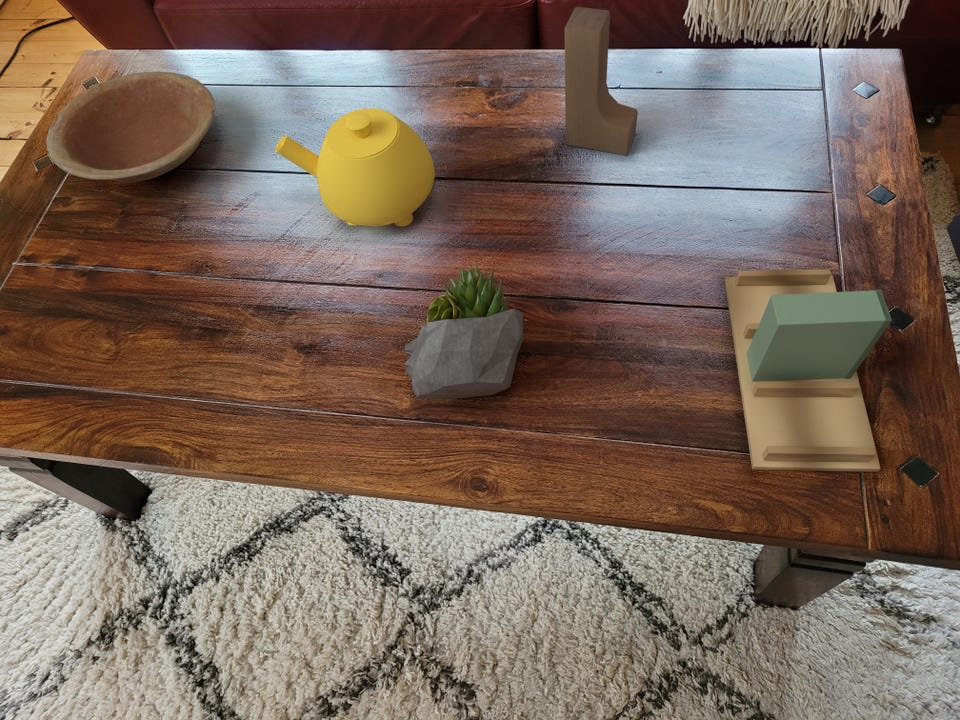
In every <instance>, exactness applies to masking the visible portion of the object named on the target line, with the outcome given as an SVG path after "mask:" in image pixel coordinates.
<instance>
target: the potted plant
mask: <svg viewBox="0 0 960 720" xmlns="http://www.w3.org/2000/svg"><path fill="white" fill-rule="evenodd" d="M460 267H461V269H460V270H459V272H458V274H457V277H456V280H457V281H456V280H455V279H454V277H453V275H451V276H449V277H448V278H449V282H450V287H449V286H448V285H447V283H446V281H445V280H443V285H444V291H445V293H446V294H441V295H439V296H437V297H435V298H434V300H433V301H432V302H431V303H430V305H429V308H428V309H427V313H426V314H427V318H426V324H422V326H421V328H420V331H419V333H418V335H417V336H416V337H415V338H413V340H411V341H410V342H409V343H407V344H406V345H405V347H404V350H403V352H404V353H405V354H406V355H409V358H408V359H407V360H406V361H405V362H404V364H403V365H404V366H405V367H406V369H405V370H404V371H405V373H406V374H407V376H408V377H410V378H411V386H412V387H411V388H412V389H411V390H412V392H413V394H414V395H415V397H416V398H417V399H424V400H425V399H426V400H433V401H437V400H439V401H440V400H442V401H443V400H458V399H465V398H466V399H467V398H476V397H483V396H493V395H496V394H498V393H500V392H502V391H504V390H507V389H509V388H511V385H512V380H513V376H514V372H515V367H516V363H517V359H518V354H519V351H520V349H521V347H522V344H523V338H524V337H523V335H524V333H523V332H524V313H523V312H522V311H520V310H518V309H516V308H511V309H508V303H509V298H510V297H509V295H507V297H506V299H505V295H504V292H505V289H504V286H502V277H499V278H500V279H499V284H497V287H496V275H494V272H495V271H494V268H492V270H491V273H490V274H488V267H487V266H485V273H484V274H483V271H482V270H480V268H479V264H478V263H476V265H475V267H473V265H472V264H469V268H468V271H467V270H466V269H465V268H464V267H463V265H460Z"/></svg>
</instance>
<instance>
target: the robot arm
mask: <svg viewBox="0 0 960 720" xmlns="http://www.w3.org/2000/svg"><path fill="white" fill-rule="evenodd" d="M946 231H947V234H948V236H949V239H950V242H951V245H952V248H953V250H954V253H955V256H956V258H957V261H958V264H959V265H960V210H959V211H958V212H957V213H956V214H955V215H954V217H953V218H952V220H951V221H950V223H949V224H948V226H947V227H946Z"/></svg>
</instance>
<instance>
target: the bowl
mask: <svg viewBox="0 0 960 720" xmlns="http://www.w3.org/2000/svg"><path fill="white" fill-rule="evenodd" d="M215 112H216V103H215V99H214V97H213V95H212V93H211V91H210V90H209V89H208V88H207V87H206V86H205V85H204V83H202V82H200V81H199V80H198V79H196V78H193V77H191V76H190V75H185V74H181V73H176V72H172V71H171V72H170V71H143V72H135V73H130V74H125V75H121V76H118V77H114V78H111V79H107V80H105V81H101V82H97V83H95V84H94V85H92V86H91V87H89V88H87V89H86V90H84V91H83V92H82V93H80V94H78V95H76V96H75V97H74V98H73V99H72V100H70V101H69V102H68V103H67V104H66V105H65V106H64V107H63V108H62V109H61V110H60V111H59V112H58V114H57V115H56V116H55V117H54V118H53V121H52V123H51V124H50V127H49V129H48V131H47V135H46V150H47V153H48V156H49V157H50V159H51V161H52V162H53V163H54V164H55V165H56V166H57V167H58V168H59V169H60V170H62V171H64V172H65V173H68V174H70V175H72V176H75V177H79V178H82V179H86V180H87V179H88V180H96V181H107V180H111V181H116V182H123V183H138V182H144V181H149V180H152V179H155V178H157V177H160V176H163V175H165V174H167V173H168V172H170V171H172V170H174V169H176V168H177V167H178V166H180V165H182V164H183V163H184V162H185V161H187V160H188V159H189V158H190V156H192V154H193V153H194V152H196V150H197V148H198V146H199V144H200V143H201V141H202V140H203V139H204V137H205V136H206V135H207V133H208V131H209V129H210V127H211V125H212V123H213V120H214V117H215Z"/></svg>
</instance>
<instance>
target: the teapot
mask: <svg viewBox="0 0 960 720" xmlns="http://www.w3.org/2000/svg"><path fill="white" fill-rule="evenodd" d="M322 141H323V142H322V144H321V147H320V151H319V154H316V153H314V152H313V151H311V150H310V149H308V148H307V147H305V146H304V145H303V144H301V143H299V142H298V141H296V140H294V139H293V138H291V137H290V136H288V135H287V134H285V135H283V136H282V137H281V138H280V139H279V141H278V143H277V144H276V147H275V150H274V151H275V153H277V154H279V155H280V156H281V157H283V158H284V159H286V160H288V161H289V162H291V163H292V164H294V165H295V166H297V167H298V168H300V169H302V170H304V171H305V172H307V173H308V174H310V175H312V176H313V177H314V178H316V181H317V188H318V192H319V195H320V198H321V200H322V202H323V204H324V206H325V207H326V209H327V210H328V211H329V212H330V214H332V215H334V216H335V217H336V218H338V219H340V220H342V221H344V222H345V223H346V224H347V225H349V226H352V227H353V226H361V227H362V226H363V227H381V226H387V225H391V224H394V225H395V226H397V227H406V226H408V225H410V224H411V223H412V222H413V220H414V215H413V213H415V211H416V210H418V208H419V207H421V205H422V204H423V203H424V202H425V201H426V199H427V198H428V196H429V195H430V193H431V192H432V191H431V190H432V188H433V185H434V182H435V177H436V176H435V175H436V172H435V171H436V169H435V164H434V161H433V157H432V155H431V152H430V151H429V149H428V147H427V145H426V143H425V142H424V141H423V139H422V138H421V136H420V135H419V134H418V133H417V132H416V131H415V130H414V129H413V128H412V127H411V126H409V125H408V124H407V123H405V122H404V121H403V120H402V119H400V118H399V117H397V116H396V115H394V114H392V113H391V112H388V111H386V110H384V109H380V108H370V107H368V108H359V109H356V110H352V111H350V112H347V113H346V114H343V115H342V116H340V117H338V119H336V120H335V121H334V122H333V123H332V124H331V125H330V127H329V128H328V130H327V132H326V134H325V136H324V138H323V140H322Z"/></svg>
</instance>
